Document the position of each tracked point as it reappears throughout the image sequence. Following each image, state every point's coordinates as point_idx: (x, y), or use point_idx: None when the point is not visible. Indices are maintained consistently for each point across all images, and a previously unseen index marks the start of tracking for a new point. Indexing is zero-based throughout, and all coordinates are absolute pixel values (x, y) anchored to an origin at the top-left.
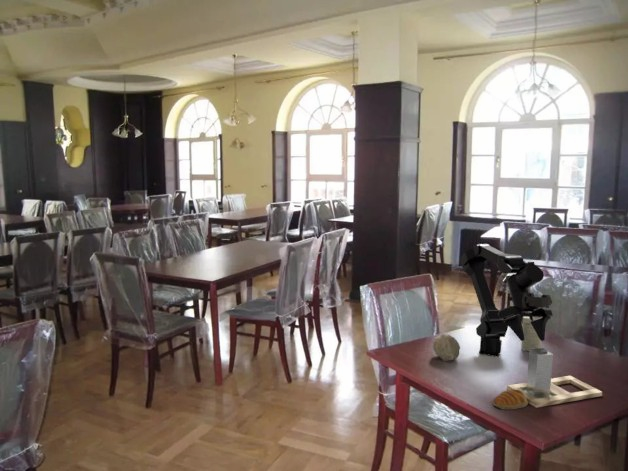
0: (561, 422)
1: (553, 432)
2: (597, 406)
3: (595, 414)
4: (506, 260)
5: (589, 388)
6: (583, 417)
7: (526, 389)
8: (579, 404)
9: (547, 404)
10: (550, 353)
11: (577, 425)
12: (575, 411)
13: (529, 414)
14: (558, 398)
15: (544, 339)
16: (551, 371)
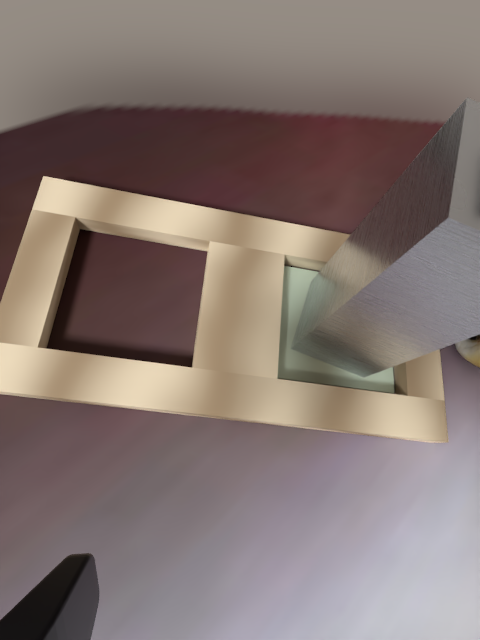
0: (403, 158)
1: None
2: (175, 153)
3: (244, 129)
4: None
5: (63, 225)
6: (305, 139)
7: (368, 375)
8: (230, 195)
9: None
10: (473, 121)
11: (367, 125)
12: (295, 173)
13: None
14: (307, 235)
15: (65, 560)
16: (379, 202)
